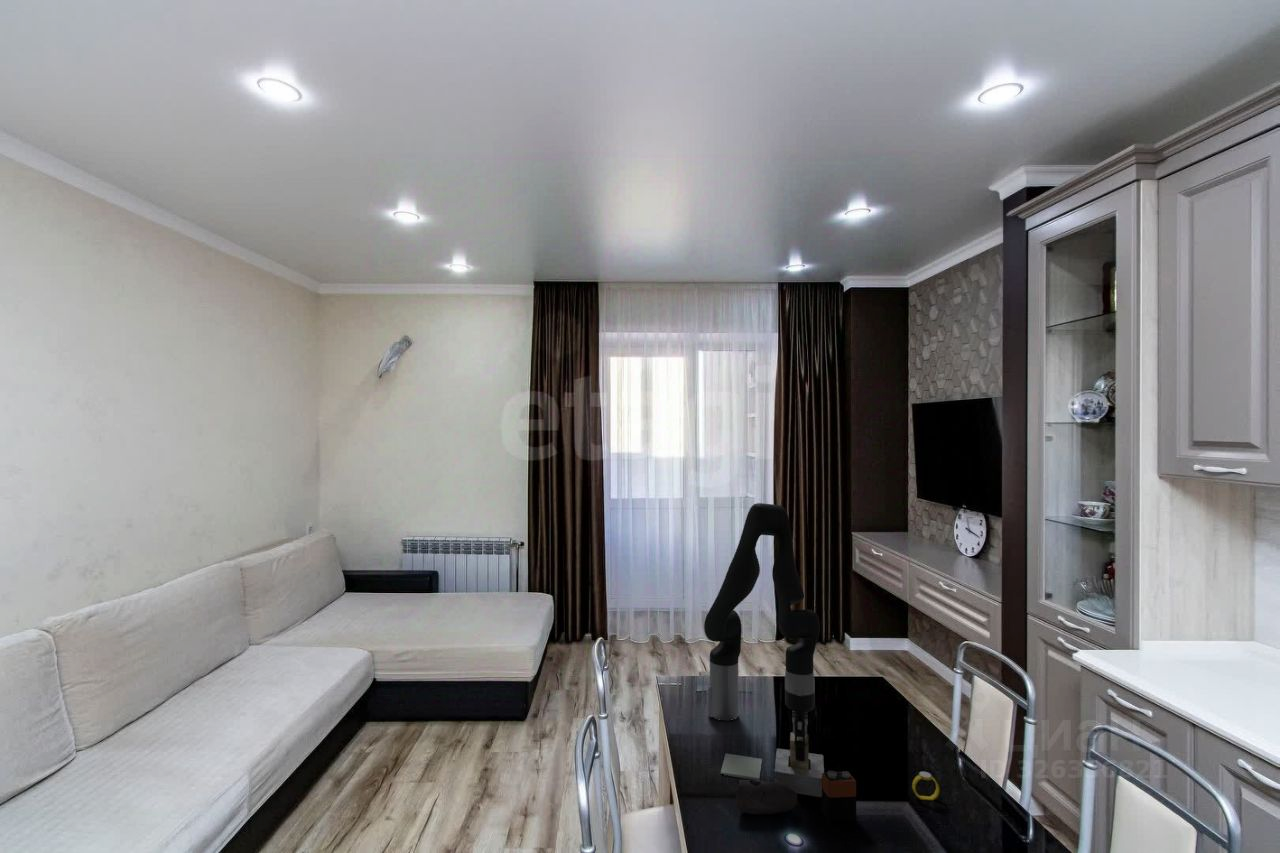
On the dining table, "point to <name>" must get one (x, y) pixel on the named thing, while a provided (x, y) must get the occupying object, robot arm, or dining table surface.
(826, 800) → the battery
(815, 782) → the post block
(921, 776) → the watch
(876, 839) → the dining table surface
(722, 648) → the robot arm
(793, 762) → the birch peg
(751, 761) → the sage mat
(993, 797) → the dining table surface
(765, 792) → the perforated stone tool
